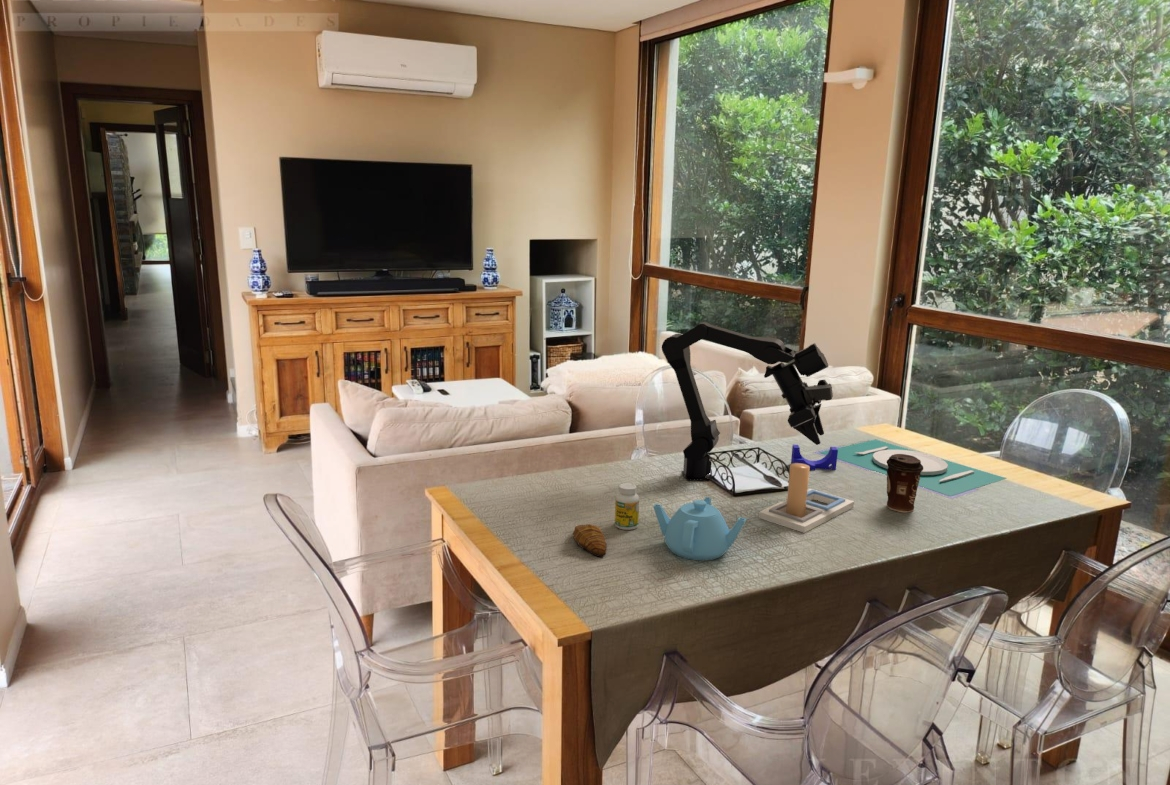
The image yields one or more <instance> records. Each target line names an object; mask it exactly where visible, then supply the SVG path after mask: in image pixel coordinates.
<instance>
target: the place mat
mask: <svg viewBox="0 0 1170 785" xmlns="http://www.w3.org/2000/svg"><path fill="white" fill-rule="evenodd" d="M835 447H836V448H837V449H838V454H837V462H841V463H843V464H845V465H846V464H847V465H849V466H853V467H855V468H859V469H862V470H863V471H868V472H871V471H876V472H879V473H882V474H885V475H886V476H887V471H888V465H887V460H888V459H889V457H890V456H892V455H894V454H906V455H911V456H914V457H916V458H918V459H919V460H920V461H921V465H922V466H923V470H922V471H921V473H920V474H921V475H920V480H919V484H918V488H917V489H922V490H924V491H927V492H930V493H933V494H935V495H939V496H943V497H946V498H949V499H952V500H953V499H956V498H959V497H960V498H961V497H963V496H965V495H966V496H967V495H968V494H969V495H970V494H972V493H975V492H977V491H979V488H981V487H984V486H987V485H991V484H994V483H997V482H1000V481H1003V480H1006V479H1007V477H1004V476H1001V475H998V474H993V473H990V472H988V471H983V470H981V469H977V468H973V467H971V466H967V465H965V464H961V463H957V462H953V461H950V460H946V459H943V458H940V457H938V456H935V455H932V454H928V453H925V452H920V451H916V450H913V449H909V448H906V447H902V446H900V445H896V444H892V443H889V442H886V441H883V440H879V439H872V440H867V441H864V442H863V441H862V442H858V443H854V444H849V445H845V446H841V445H839V446H835ZM829 450H830V448H826V449H820V450H816V451H813V452H812V453H813V454H816V455H819V456H823V457H825V456H826V455H827V454H828V452H829ZM869 470H870V471H869ZM871 473H872V472H871ZM875 474H876V475H879V476H881V475H880V474H877V473H875ZM923 487H924V488H923Z"/></svg>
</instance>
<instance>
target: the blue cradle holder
mask: <svg viewBox="0 0 1170 785" xmlns="http://www.w3.org/2000/svg"><path fill="white" fill-rule="evenodd" d="M829 447H830V450H829V452H828V454H827V455H826V456H823V457H822V458H821V459H818V460H809V459H806V458H805V457H803V455H802V454H801V450H800V449H801V448H800V446H799V444H792V448H791V459H790V465H791V464H793V463H802V464H806V465H808V466H810V470H809V471H816V470H828V471H829V470H832V471H836V470H837V462H838V461H837V454H838V449H837V448H836V447H837V446H829Z"/></svg>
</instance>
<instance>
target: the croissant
mask: <svg viewBox="0 0 1170 785" xmlns="http://www.w3.org/2000/svg"><path fill="white" fill-rule="evenodd" d="M572 535H573V539H574V540H575V541H576V543H577V544H578V546H579V547H581V548H582V549H584V550H586V551H587V552H588V553H590V554H592V555H593V556H597V557H604V556H606V553H607V542H606V537H605V534H604V532H603V531H602V530H601V529H600V527H598V526H596V525H593V524H591V523H590V524H589V523H588V524H578V525H577V526H575V527H574V530H573V533H572Z"/></svg>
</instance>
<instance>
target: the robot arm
mask: <svg viewBox="0 0 1170 785" xmlns="http://www.w3.org/2000/svg"><path fill="white" fill-rule="evenodd" d="M701 340H705V341H709V342H712V343H715V344H719V345H722V346H726V347H729V348H731V349H732V348H733V349H734V350H735V349H736V350H739V351H742V352H745V353H747V354H748V355H750V356H752V357H753V358H754V359H757V360H759V361H761V362H762V363H765V364H767V365H766V367H765V373H764V375H763V377H764V378H768V377H771V376H772V377H773V379H774V380H775V383H776V385H777V387H778V388H779V389H780V392H781V393H782V394H781V397H782V399H783V400H784V399H785V401H786V402H787V404H788V406H789V409H788V410H789V411H790V414H789V415H788V418H787V423H788V425H789V426H790V428H792V429H794V430H796V431H797V432H799V433H800V434H802V435H803V436H804V437H805V438H807V439H808V440H809V441H811V442H812V443H814V444H815V446H816V445H817V446H818V445H820V444H821V440H820V436H824V434H825V431H824V428H823V424H822V420H821V415H820V410H821V407H822V401H830V400H831V401H832V400H833V396H834V395H833V385H832V384H831V383H828V382H827V380H826V379H818V382H817V383H816V384H817V385H816V384H815V385H811V386H809V385H808V383H807V382H805V381H803V380H802V377H801V376H805V377H807V378H808V377H811V376H812V375H815V374H817V373H819V372H821V371H824V370H826V369H828V368H829V364H828V360H827V359H826V357H825V354H824V353H823V352H822V351H821V350H820V348H819V347H818V346H817V343H815V342H814V343H811V344H810V345H809V346H807V347H805V348H803V349H801V350H799V351H796V350H795V349H793V348H790V347H788V346H786V345H785V343H784V341H782V339H779V338H775V337H774V338H773V337H766V336H765V337H764V336H752V335H747V334H744V333H741V332H738V331H734V330H731V329H727V328H724V327H720V326H717V325H715V324H712V323H711V324H710V323H709V322H707V321H702V322H700V323H698V324H697V325H696V326H695V327H693V328H691V329H690V330H688V331H686V332H684V333H674V334H672V335H670V336H668V337H666V338H665V339H664V340H663V342H662V344H661V350H662V354H663V356H664V357H665V359H666V361H667V363H668V364H669V366H670V367H671V368H672V370H673V371H674V373H675V376H676V379H677V382H678V385H679V388H680V392H681V395H682V398H683V401H684V404H685V407H686V410H687V414H688V417H689V420H690V438H691V442H690V443H688V444H687V446H686V447H685V448H684V449H683V451H682V452H683V456H684V457H683V470H681V475H682V477H684V479H685V480H686V481H708V480H707V478H705V476H706V475H707V474H709V473H712V460H711V459H710V457H711V456H710V454H709V453H710V452H711V451H712V450H713V449H714V448H715V447H716V446H717V444H718V442H719V438H720V437H719V435H720V434H721V432H720V430H719V429H718V425H717V420H716V419H713V420H711V419H710V418H709V417H708V416H707V414H706V410H705V407H704V404H703V401H702V397H701V395H700V391H699V387H698V385H697V383H696V379H695V375H694V372H693V370H692V366H691V346H693V345H694V344H696V343H698V342H699V341H701ZM777 363H778V364H777ZM785 363H786V364H785ZM770 365H773V366H770ZM816 404H817V405H816Z"/></svg>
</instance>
